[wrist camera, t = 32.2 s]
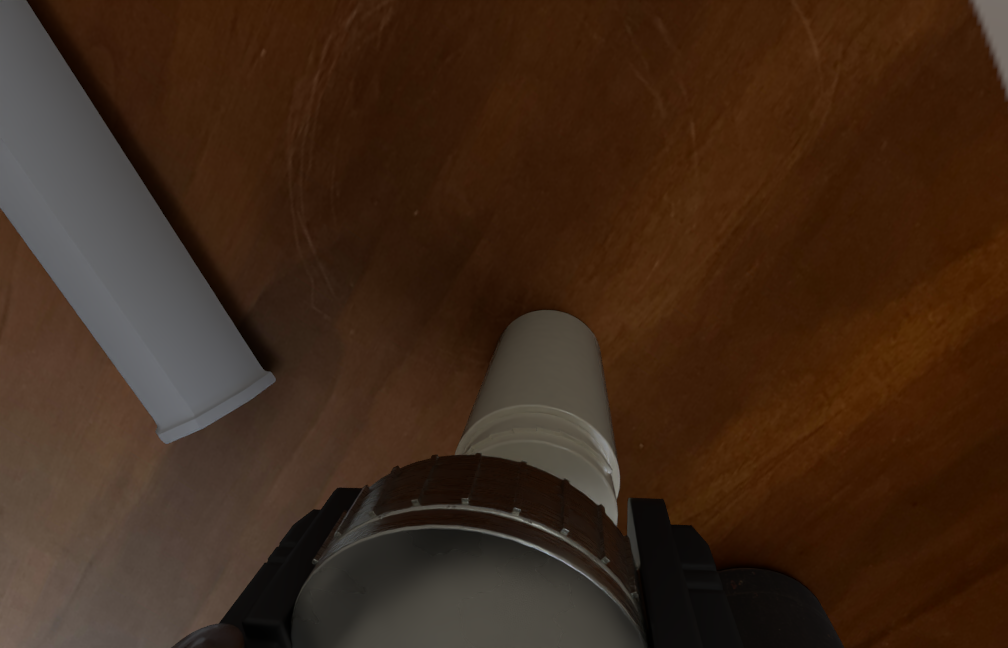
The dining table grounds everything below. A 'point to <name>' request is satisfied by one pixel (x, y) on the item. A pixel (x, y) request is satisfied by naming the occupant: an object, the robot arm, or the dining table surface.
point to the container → (776, 611)
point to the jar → (548, 405)
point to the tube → (111, 241)
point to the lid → (472, 565)
